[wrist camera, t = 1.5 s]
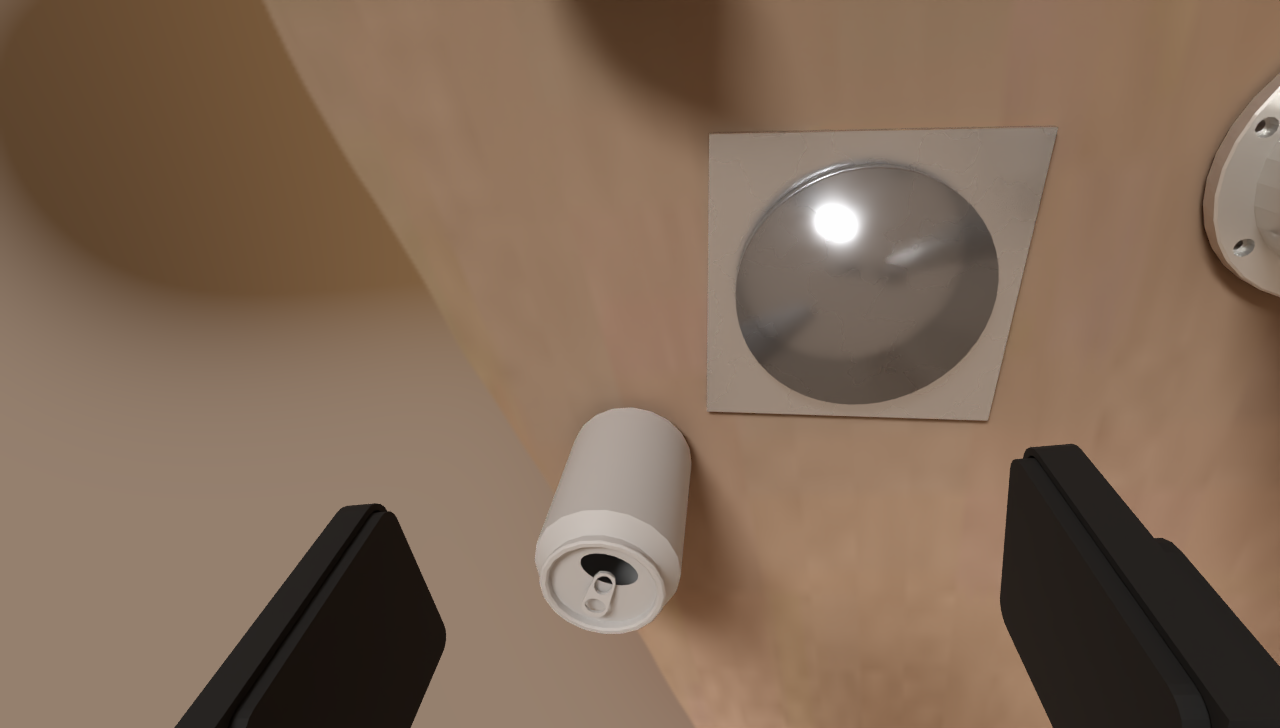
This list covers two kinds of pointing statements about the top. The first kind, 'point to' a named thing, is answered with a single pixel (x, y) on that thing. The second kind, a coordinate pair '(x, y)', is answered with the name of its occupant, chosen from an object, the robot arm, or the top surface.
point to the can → (617, 523)
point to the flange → (867, 267)
